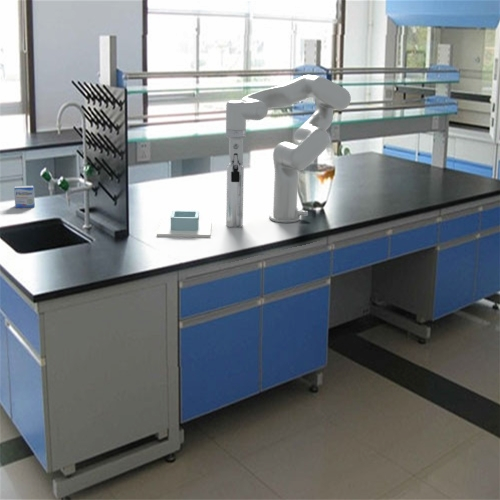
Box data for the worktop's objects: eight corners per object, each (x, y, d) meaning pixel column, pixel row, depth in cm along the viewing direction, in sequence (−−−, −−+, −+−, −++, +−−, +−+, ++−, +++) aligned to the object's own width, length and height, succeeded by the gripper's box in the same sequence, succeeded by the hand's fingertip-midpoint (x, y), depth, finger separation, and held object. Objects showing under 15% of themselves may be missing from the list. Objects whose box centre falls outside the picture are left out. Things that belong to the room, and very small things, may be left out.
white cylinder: (242, 223, 289) (243, 161, 282) (242, 227, 283) (244, 165, 275) (226, 223, 289) (227, 161, 281) (226, 227, 283) (226, 164, 275)
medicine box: (15, 208, 302) (13, 188, 300) (15, 205, 307) (14, 185, 304) (34, 207, 304) (33, 187, 302) (35, 204, 309) (33, 184, 306)
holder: (211, 222, 290) (211, 208, 288) (210, 237, 271) (210, 221, 269) (161, 221, 289) (161, 207, 287) (156, 236, 270) (156, 221, 268)
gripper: (246, 137, 267) (245, 185, 272) (245, 130, 283) (244, 175, 289) (226, 137, 266) (225, 184, 272) (225, 129, 283) (225, 174, 289)
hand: (235, 179), depth 280 cm, fingers closed on white cylinder, 6 cm apart
